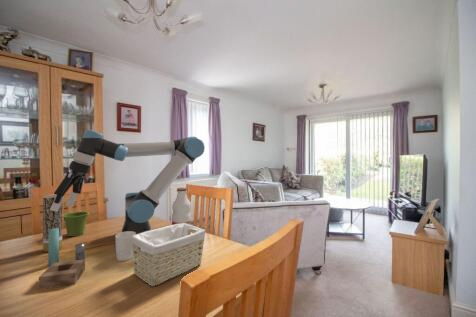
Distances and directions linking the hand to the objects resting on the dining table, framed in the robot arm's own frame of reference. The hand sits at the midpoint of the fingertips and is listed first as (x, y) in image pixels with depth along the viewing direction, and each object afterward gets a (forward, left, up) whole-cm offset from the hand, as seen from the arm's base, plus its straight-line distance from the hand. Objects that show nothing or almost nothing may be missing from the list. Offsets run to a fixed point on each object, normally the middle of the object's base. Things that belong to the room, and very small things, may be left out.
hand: (61, 208), depth 97 cm
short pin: (-10, +10, -20) cm, 25 cm away
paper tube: (+6, -7, -20) cm, 22 cm away
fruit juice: (-51, +3, -20) cm, 55 cm away
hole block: (-9, +23, -20) cm, 32 cm away
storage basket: (-45, +27, -21) cm, 56 cm away
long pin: (-1, +10, -20) cm, 23 cm away
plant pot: (+3, -26, -20) cm, 33 cm away
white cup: (-27, +11, -20) cm, 36 cm away
